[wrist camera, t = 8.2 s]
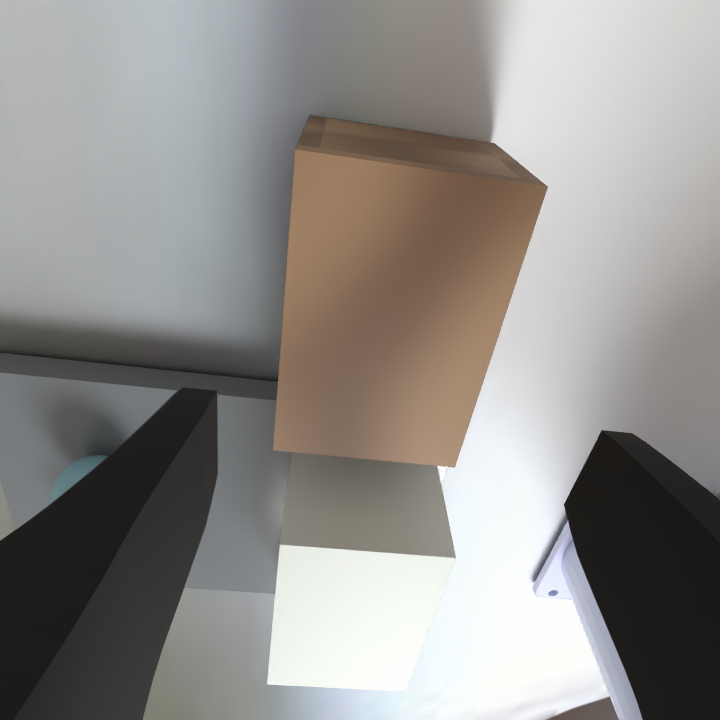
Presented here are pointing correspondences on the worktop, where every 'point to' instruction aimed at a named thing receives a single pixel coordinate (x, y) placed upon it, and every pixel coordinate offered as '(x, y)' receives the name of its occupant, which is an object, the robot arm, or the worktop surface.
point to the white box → (357, 572)
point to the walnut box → (395, 288)
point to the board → (120, 420)
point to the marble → (74, 474)
